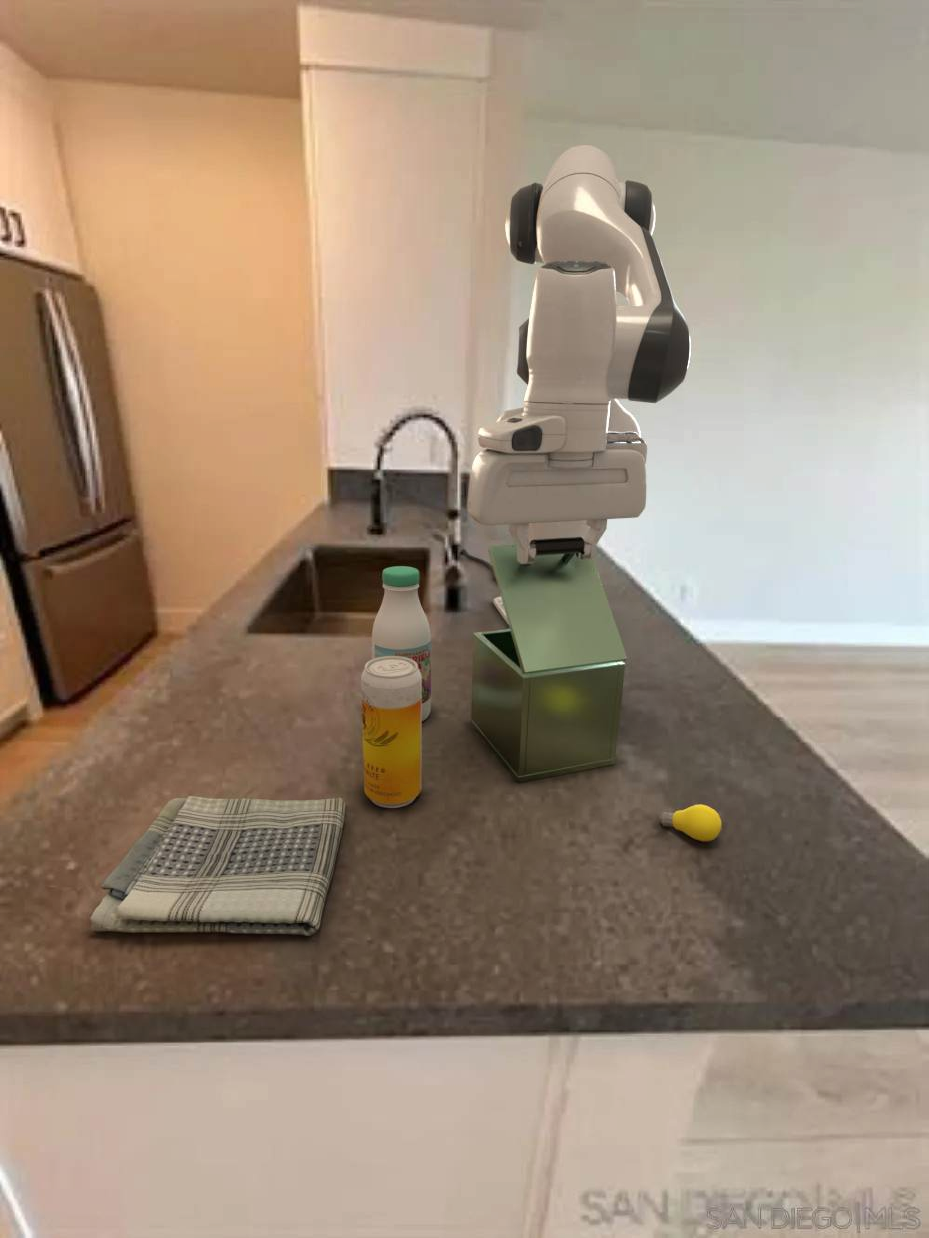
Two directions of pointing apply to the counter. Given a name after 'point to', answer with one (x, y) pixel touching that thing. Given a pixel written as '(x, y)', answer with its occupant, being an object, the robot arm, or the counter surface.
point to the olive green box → (543, 711)
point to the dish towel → (227, 868)
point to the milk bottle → (404, 626)
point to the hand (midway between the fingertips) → (555, 560)
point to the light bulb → (694, 822)
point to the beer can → (392, 730)
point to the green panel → (556, 607)
